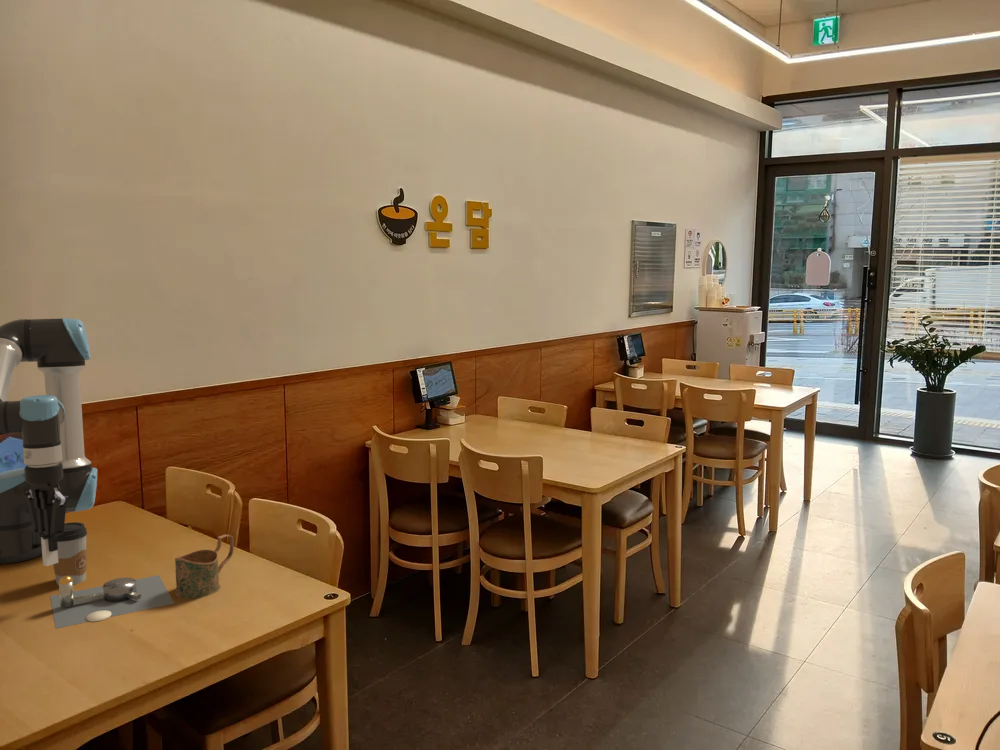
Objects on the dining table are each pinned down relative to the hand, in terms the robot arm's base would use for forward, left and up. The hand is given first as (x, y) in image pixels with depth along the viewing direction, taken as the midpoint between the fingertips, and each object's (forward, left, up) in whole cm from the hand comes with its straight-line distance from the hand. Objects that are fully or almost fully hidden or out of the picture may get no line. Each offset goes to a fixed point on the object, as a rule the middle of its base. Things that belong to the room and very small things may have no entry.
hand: (50, 563), depth 179 cm
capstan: (+4, +9, -9) cm, 14 cm away
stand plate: (+5, +12, -11) cm, 17 cm away
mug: (+8, +33, -11) cm, 35 cm away
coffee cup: (-13, +5, -11) cm, 18 cm away
